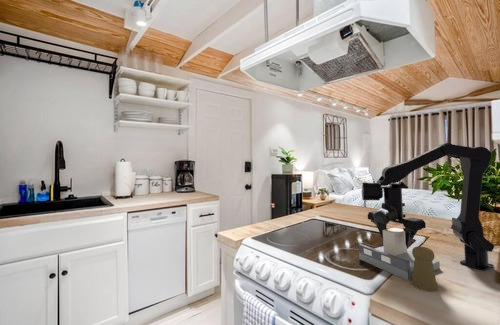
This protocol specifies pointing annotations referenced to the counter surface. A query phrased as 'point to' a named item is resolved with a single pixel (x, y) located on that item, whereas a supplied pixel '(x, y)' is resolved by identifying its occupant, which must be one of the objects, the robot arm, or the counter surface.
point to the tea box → (394, 241)
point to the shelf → (391, 261)
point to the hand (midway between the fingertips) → (395, 242)
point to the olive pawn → (424, 269)
